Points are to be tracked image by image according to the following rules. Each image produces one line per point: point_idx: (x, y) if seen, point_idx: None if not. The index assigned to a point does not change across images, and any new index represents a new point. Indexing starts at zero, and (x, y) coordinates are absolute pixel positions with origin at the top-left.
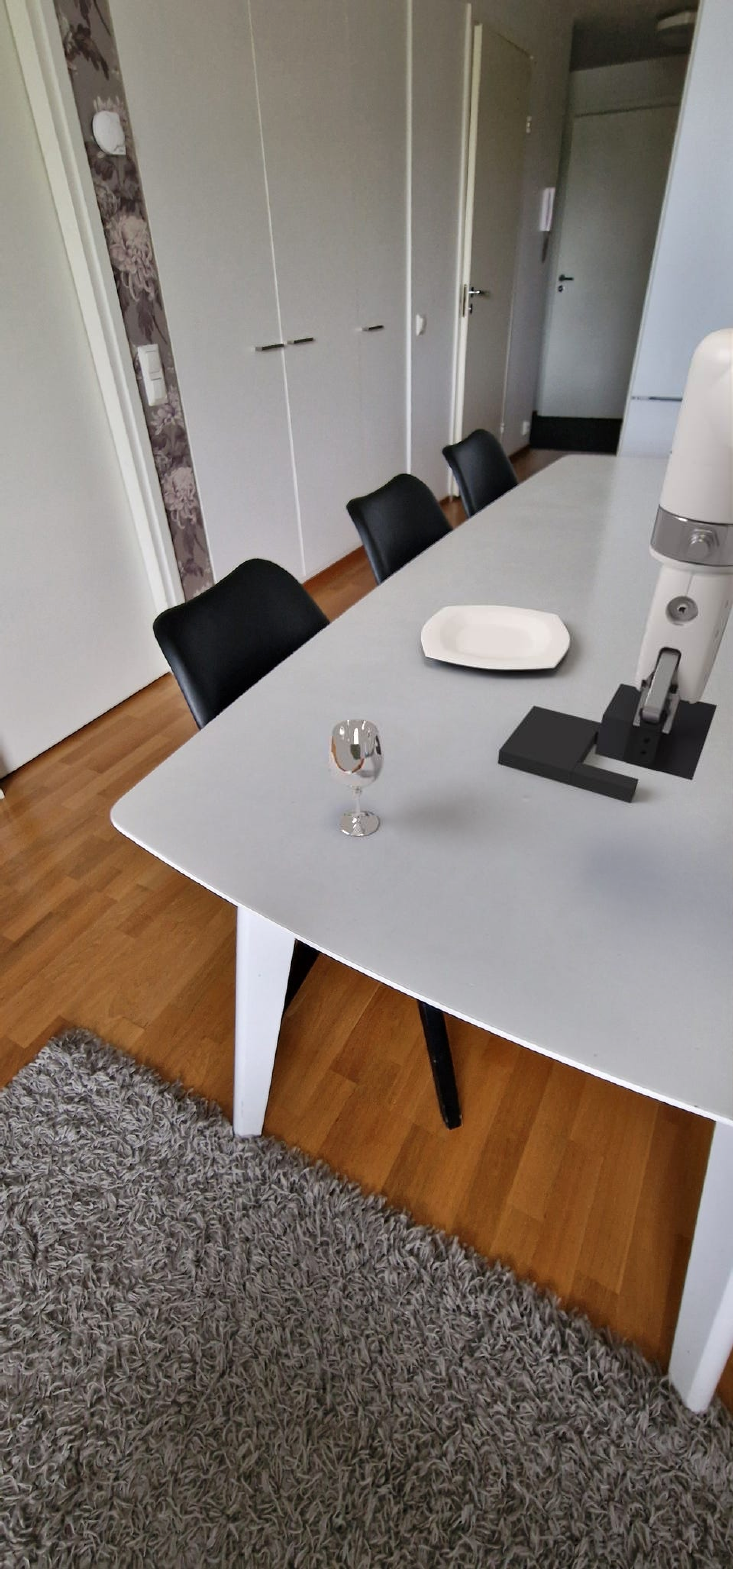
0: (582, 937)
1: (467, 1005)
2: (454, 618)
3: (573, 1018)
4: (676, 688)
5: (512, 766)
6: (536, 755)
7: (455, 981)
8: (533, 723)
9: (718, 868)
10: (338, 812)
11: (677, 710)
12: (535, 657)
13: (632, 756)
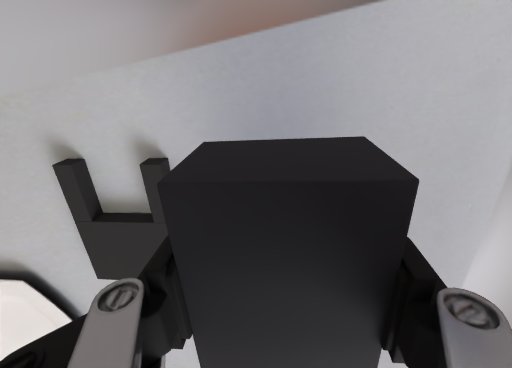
0: (381, 143)
1: (494, 200)
2: None
3: (487, 121)
4: (166, 305)
5: None
6: None
7: (470, 216)
8: (124, 271)
9: (214, 45)
10: None
11: (263, 273)
12: (22, 298)
13: None
